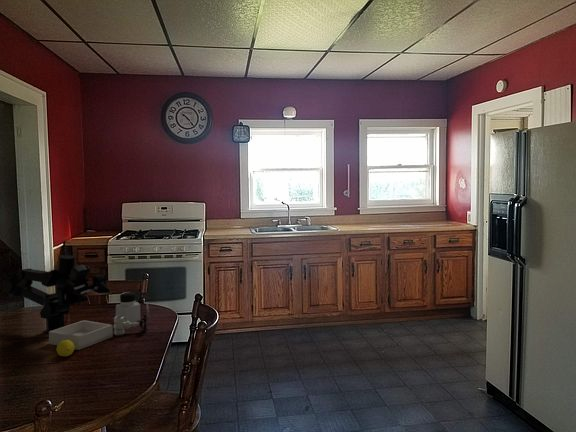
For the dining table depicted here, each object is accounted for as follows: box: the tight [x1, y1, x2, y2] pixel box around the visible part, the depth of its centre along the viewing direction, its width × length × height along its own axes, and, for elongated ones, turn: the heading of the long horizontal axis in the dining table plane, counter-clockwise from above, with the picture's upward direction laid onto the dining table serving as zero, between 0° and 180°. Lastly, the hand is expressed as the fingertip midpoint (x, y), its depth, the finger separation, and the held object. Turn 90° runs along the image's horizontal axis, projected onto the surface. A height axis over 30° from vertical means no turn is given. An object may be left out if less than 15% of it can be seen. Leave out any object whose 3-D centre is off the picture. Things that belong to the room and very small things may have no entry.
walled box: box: [48, 319, 114, 351], centre depth 160 cm, size 15×15×4 cm
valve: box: [113, 314, 148, 336], centre depth 169 cm, size 7×7×12 cm
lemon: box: [56, 340, 75, 358], centre depth 145 cm, size 7×5×5 cm
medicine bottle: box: [115, 291, 142, 323], centre depth 184 cm, size 7×7×12 cm
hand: (98, 295), depth 158 cm, fingers open, 9 cm apart
